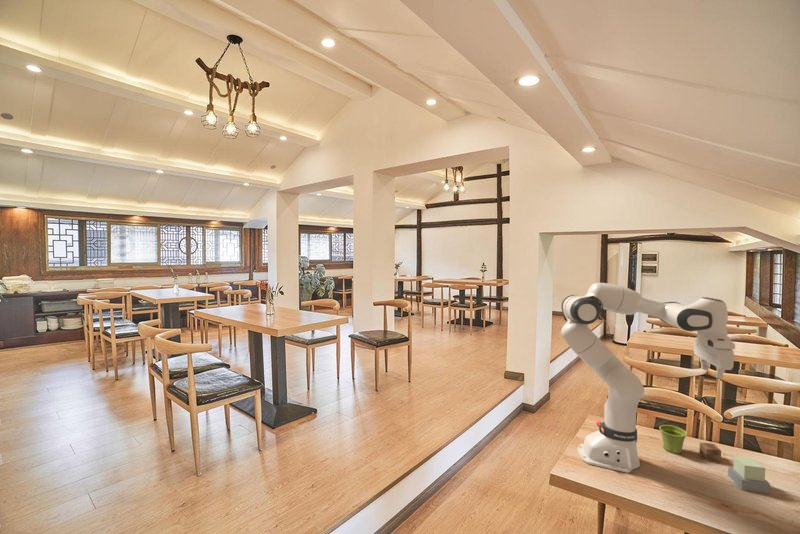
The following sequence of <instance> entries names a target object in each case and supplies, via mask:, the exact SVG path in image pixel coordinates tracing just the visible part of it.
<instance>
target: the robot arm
mask: <svg viewBox="0 0 800 534" xmlns="http://www.w3.org/2000/svg"><path fill="white" fill-rule="evenodd" d="M604 310H606V311H609V312H611V313H612V312H613V313H616V314H621V315H627V316H628V315H629V316H632V315H635V314H636V313H642V314H646V315H649V316H653V317H655V318H657V319H659V320H660V321H662V323H664V324H666V325H669V326H671V327H672V326H673V327H675V328H678V329H679V330H683V331H686V332H696V334H697V336H696V338H694V342H693V353H694V355H695V356H697V357H698V358H699V362H700V364H701V369H702V370H704V371H708V370H709V369H710V368H709V365H708V363H709V364H711V365H713V366H714V367H715V369H716V372H715V371H714V378H717V379H721V380H722V379H723V375H724V373H725V372H726V371H732V370H733V368H734V362H735V352H734V350H735V349H736V343H734V342H733V341H732V340H731V339H730V337H729V336H728V329H727V324H728V318H729V317H728V315H729V314H728V313H729V312H728V307H727V304H726V302H724V301H723V300H722V299H717V298H712V297H705V296H704V297H700V298H699V299H697V300H696V301H694V302H691V303H690V304H686V305H685V304H682V303H680V302H677V301H665V302H662V301H656V300H652V299H649V298H645V297H642V295H641V294H640V293H639V292H638V291H636V290H633V289H631V288H629V287H625V286H621V285H617V284H613V283H607V282H594V283H592V284H591V285H590V287H589V288H588V290H587V293H586V294H585V295H578V294H572V295H571V294H570V295H568V296H566V297H565V298H564V299H562V302H561V312H562V315H563V319H564V321H565V323H564V325H563V326H562V328H561V331H560V335H561V336H562V338H563V339H564V341H565V342H566V344H567V345H568V347H569V348H570V349H571V350H572V351H573V352H574V353H575V354H576V356H578V357H579V358H580V360H582V362H583V363H584V364H585V365H586V366H587V367H588V368H590V369H591V371H592V372H593V373H595V375H596V376H597V377H598V378H600V379H601V381H602V382H603V383H605V385H606V386H607V388H608V395H607V401H606V402H604V417H603V418H604V421H603V422H601V420H599V419H597V420H595V424H596V426H597V427H598V430H595V431H593V432H591V433H589V434H587V435H586V436H585V438H584V440H583V443H579V445H578V446H577V453H578V456H579V457H580V458H581V460H582V461H583V462H585V463H586V464H587V465H592V466H597V467H601V468H605V469H609V470H613V471H619V472H624V473H627V474H629V473H631V472H632V471H633V470H636V469H639V468H640V466H641V461H640V459H639V453H638V448H637V442H638V429H637V410H638V409H637V408H638V405H639V402H640V401H641V399H642V398H643V397H644V394H645V387H644V385H643V383H642V381H641V379H640V378H639V376H637V375H636V374H635V373H634V372H633V371H632V370H630V369H629V368H628V367H627V366H626V365H625V364H624V363H623V362H622V361H621V360H620V359H619V358H618V357H617V356H616V355H615V353H613V351H612V350H611V349H610V348H609V347H608V346H607V345H606V344H605V342H603V341H602V340H601V339H600V338H599V337H598V336H597V335H596V334H595V333H594V332H593V330H591V329H590V327H589V325H590V324H593V323H595V322H596V321H597V320H598V319H599V317H600V315H601V313H602V312H603V311H604Z"/></svg>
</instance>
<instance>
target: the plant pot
mask: <svg viewBox="0 0 800 534" xmlns="http://www.w3.org/2000/svg"><path fill="white" fill-rule="evenodd" d="M659 430H660V433H661V438H662V446H663V448H664V450H665V451H667V452H669V453H671V454H672V453H673V454H680V453H682V451H683V447H684V446H683V445H684V442H685V439H686V437H687V436H688V433H687V431H686V430H684V429H682V428H680V427H678V426H676V425H670V424H662V425H660V426H659Z"/></svg>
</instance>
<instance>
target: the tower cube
mask: <svg viewBox="0 0 800 534" xmlns="http://www.w3.org/2000/svg"><path fill="white" fill-rule="evenodd" d="M732 467H733V469H734V470H735V471H736V472H737V473H738V474H739V475H741V476H742V477H743V478H744V479H749V480H757V481H765V480H766V467H765V466H764V465H762V464H761V463H759V461H757V460H756V459H755V458H754V457H747V456H738V455H733V466H732Z"/></svg>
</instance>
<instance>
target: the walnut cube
mask: <svg viewBox="0 0 800 534" xmlns="http://www.w3.org/2000/svg"><path fill="white" fill-rule="evenodd" d="M699 453H700V454H701V455H702V456H703V457H704V458H703V457H702V456H701V455H700V454H699V455H700V456H701V457H702V458H703V459H704V460H705V461H706V460H708V461H707V462H714V461H715V463H721V462H722V450H721V449H720V448H719V447H718V446H717V445H716V444H715V443H711V442H710V443H709V442H699Z"/></svg>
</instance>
